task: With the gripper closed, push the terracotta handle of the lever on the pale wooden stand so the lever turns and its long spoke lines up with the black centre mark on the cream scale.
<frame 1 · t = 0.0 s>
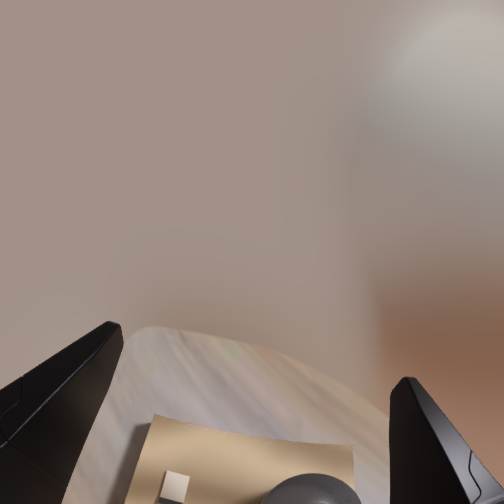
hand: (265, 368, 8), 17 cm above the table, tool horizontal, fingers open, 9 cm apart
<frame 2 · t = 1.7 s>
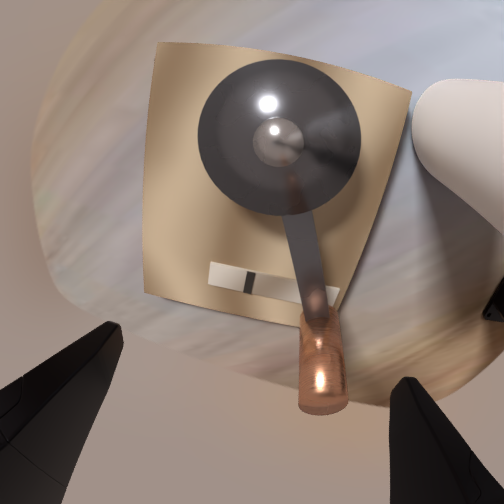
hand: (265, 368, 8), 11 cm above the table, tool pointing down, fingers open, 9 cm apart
lever: (301, 246, 13), point 5 cm above the table, hinge at 25.0°
stand: (258, 194, 17), on the table
can: (453, 130, 14), on the table
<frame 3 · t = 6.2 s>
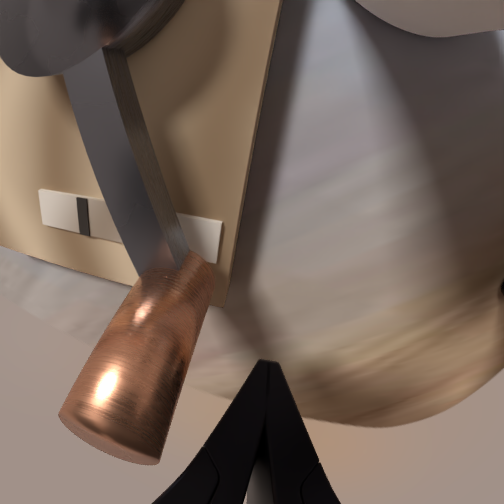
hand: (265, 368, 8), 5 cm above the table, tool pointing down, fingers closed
lever: (51, 95, 5), point 5 cm above the table, hinge at 24.1°, touching gripper
stand: (98, 84, 9), on the table
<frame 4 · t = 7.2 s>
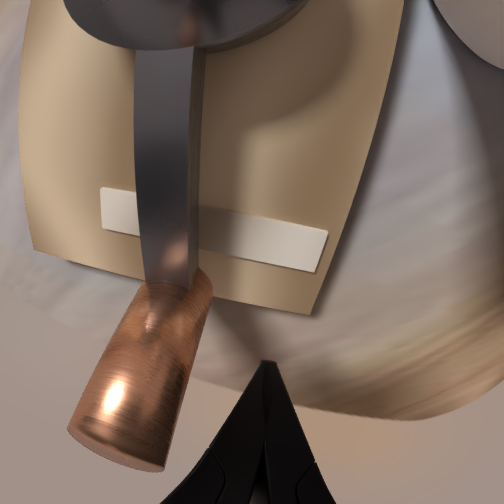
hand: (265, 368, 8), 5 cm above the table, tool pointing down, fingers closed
lever: (131, 88, 5), point 5 cm above the table, hinge at 5.2°, touching gripper
stand: (179, 71, 9), on the table
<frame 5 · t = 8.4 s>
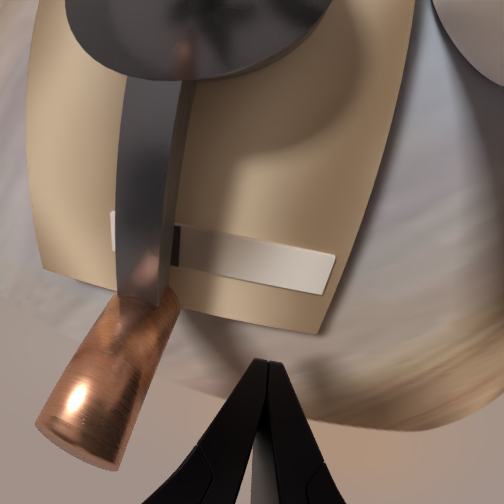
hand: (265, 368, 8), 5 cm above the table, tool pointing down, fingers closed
lever: (114, 124, 5), point 5 cm above the table, hinge at -3.0°
stand: (187, 94, 9), on the table
can: (488, 15, 6), on the table
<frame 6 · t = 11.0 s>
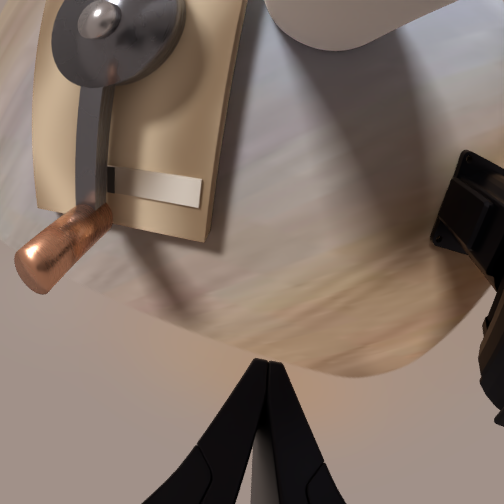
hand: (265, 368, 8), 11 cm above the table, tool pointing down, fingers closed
lever: (70, 108, 10), point 5 cm above the table, hinge at -3.0°
stand: (122, 92, 15), on the table
can: (326, 0, 11), on the table
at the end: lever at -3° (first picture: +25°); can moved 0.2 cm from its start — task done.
